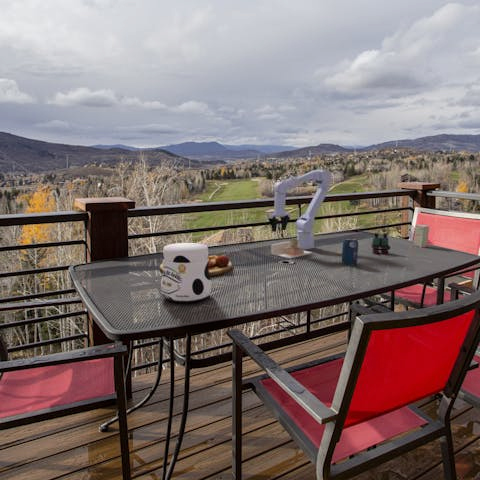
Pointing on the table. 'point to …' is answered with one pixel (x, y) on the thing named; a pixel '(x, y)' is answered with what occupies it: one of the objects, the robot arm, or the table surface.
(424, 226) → the skincare box
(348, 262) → the soda can
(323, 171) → the robot arm
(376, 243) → the binoculars
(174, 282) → the milk container
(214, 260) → the wooden plate with food
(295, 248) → the beige cylinder
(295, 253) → the cup bracket
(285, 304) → the table surface
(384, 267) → the table surface
